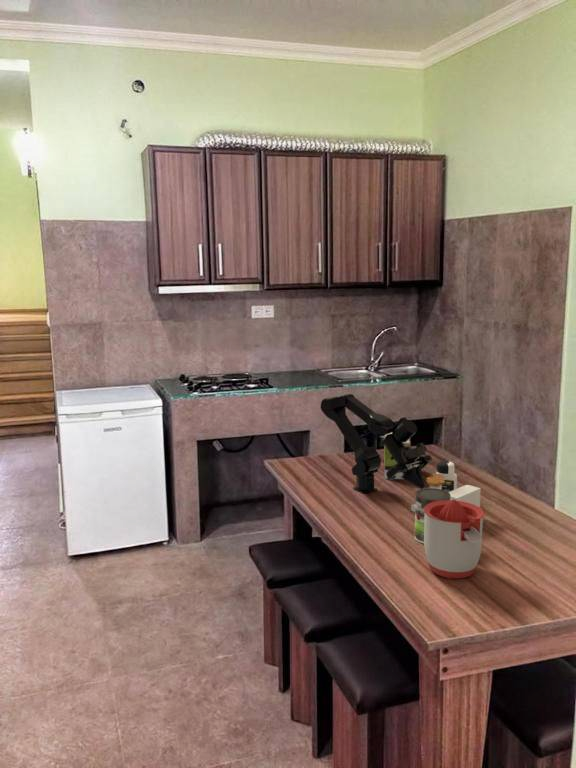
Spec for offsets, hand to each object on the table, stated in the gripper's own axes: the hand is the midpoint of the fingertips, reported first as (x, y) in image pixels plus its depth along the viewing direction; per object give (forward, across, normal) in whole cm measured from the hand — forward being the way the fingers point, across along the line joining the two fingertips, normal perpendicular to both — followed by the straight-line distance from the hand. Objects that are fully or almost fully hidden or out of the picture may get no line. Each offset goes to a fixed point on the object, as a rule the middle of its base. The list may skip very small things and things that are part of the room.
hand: (423, 488), depth 224 cm
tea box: (-16, +23, +26) cm, 39 cm away
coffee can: (+17, -18, -6) cm, 25 cm away
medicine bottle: (+3, +16, +7) cm, 18 cm away
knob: (+7, 0, 0) cm, 7 cm away
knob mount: (+11, 0, 0) cm, 11 cm away
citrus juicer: (+29, -31, -18) cm, 46 cm away
